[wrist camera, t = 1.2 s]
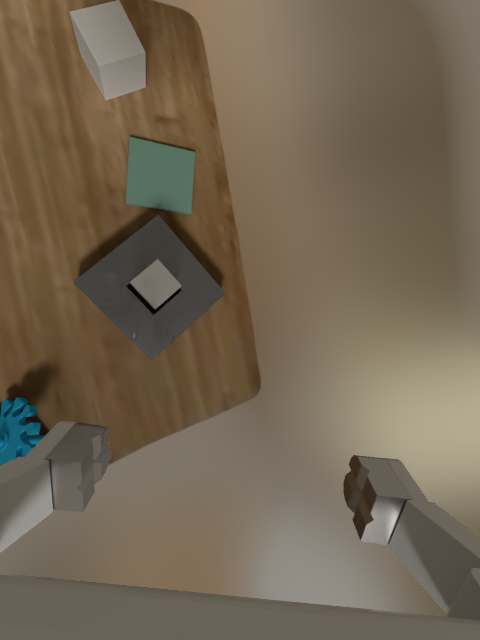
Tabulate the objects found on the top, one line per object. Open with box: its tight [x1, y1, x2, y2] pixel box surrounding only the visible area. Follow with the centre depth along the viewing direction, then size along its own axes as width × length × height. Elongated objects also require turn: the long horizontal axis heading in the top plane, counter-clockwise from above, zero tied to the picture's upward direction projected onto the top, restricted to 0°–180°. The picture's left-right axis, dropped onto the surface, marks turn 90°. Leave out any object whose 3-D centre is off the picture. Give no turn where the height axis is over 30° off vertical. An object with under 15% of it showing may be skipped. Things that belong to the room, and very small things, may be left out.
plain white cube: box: [70, 0, 146, 101], centre depth 37 cm, size 6×6×6 cm
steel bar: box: [130, 259, 181, 309], centre depth 38 cm, size 4×4×10 cm
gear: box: [0, 397, 46, 466], centre depth 36 cm, size 11×6×10 cm
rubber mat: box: [126, 137, 195, 215], centre depth 42 cm, size 9×9×1 cm
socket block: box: [73, 215, 225, 360], centre depth 41 cm, size 14×14×3 cm
